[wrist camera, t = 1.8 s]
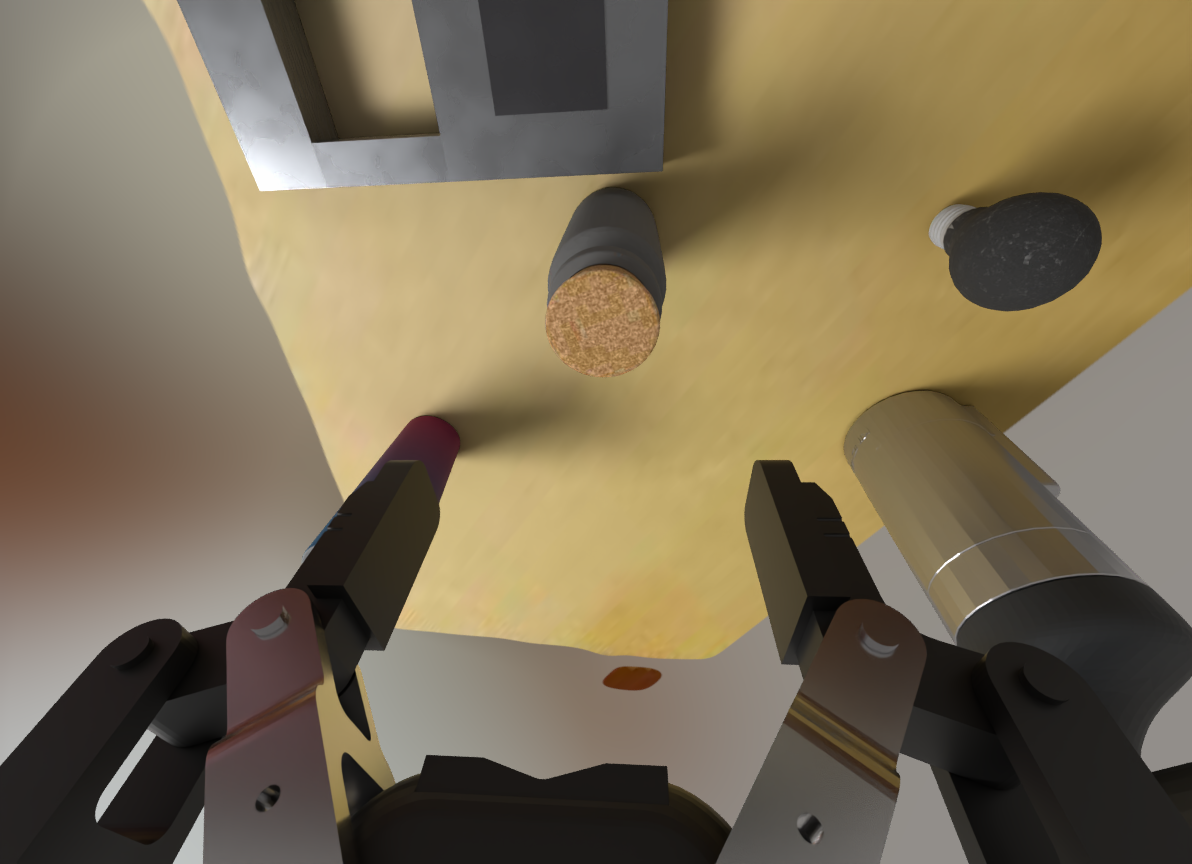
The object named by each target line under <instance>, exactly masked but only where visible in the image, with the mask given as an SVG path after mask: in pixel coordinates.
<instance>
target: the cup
mask: <svg viewBox="0 0 1192 864" xmlns="http://www.w3.org/2000/svg"><path fill="white" fill-rule="evenodd" d="M459 448H460V438H459V436H458V433H457V432H456V430H455V429H454V428H453V427H452V426H451V425H450V424H449V423H447V422H446V421H444V420H442V419H439V418H437V417H433V416H420V417H416V418H414V419H412V420H411V421H410V422H409V423H408V424H407V425H406V427H405V428H404V429H403V430H402V432H401V433H400V434H399V435H398V437H397V438H396V439H395V440H394V442H393V443H392V444H391V445H390V447H389V448H388V449H387V450H386V452H385V453H384V454H383V455H382V457H381V458H380V459H379V460H378V462H377V463H376V464H375V465H374V467H373V468H372V469H371V470H370V472H369V473H368V474H367V475H366V476H365V478H364V479H363V480H362V481H361V483H360V484H359V485H358V486H357V488H356V489H355V490H354V491H356V490H357V489H358V488H359V487H361V486H362V485H363V484H364V483H366V482H367V481H374V480H375V478H376V477H377V475H378V474H379V472H380V471H381V469H382V468H383V466H384V465H385V463H386V462H388V461H390V460H420V461H422V462H423V463H424V465H425V467H426V470H427V472H428V475H429V478H430V481H431V483H432V486H433V489H434V492H435V495H436V497H437V500H438V503H439V502H440V499H441V496H442V494H443V491H444V488H445V486H446V483H447V480H448V477H449V475H450V472H451V469H452V467H453V464H454V461H455V458H456V456H457V453H458V450H459ZM354 491H353V492H354ZM341 507H342V506H341ZM339 510H340V509H339ZM339 510H338V511H339ZM338 511H337V513H338ZM337 513H336V514H335V515H334V516H333V518H334V517H337ZM333 518H332V519H331V520H330V521H329V523H328V524H327V525H326V526H325V528H324V529H323V530H322V531H321V533H320V534H319V535H318V536H317V538H316V539H315V540H314V541H313V542H312V544H311V545H310V546H309V548H308V549H307V550H306V551H305V553H304V555H303V556H302V564H303V562H304V561H305V559H306V558H307V556H308V555H309V553H310V552H311V550H312V549H313V547H314V546H315V545H316V543H317V542H318V540H319V539H320V537H321V536H322V534H323V533H324V531H327V527H328V526H329V524H330V523H331V521H332V520H333Z"/></svg>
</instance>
